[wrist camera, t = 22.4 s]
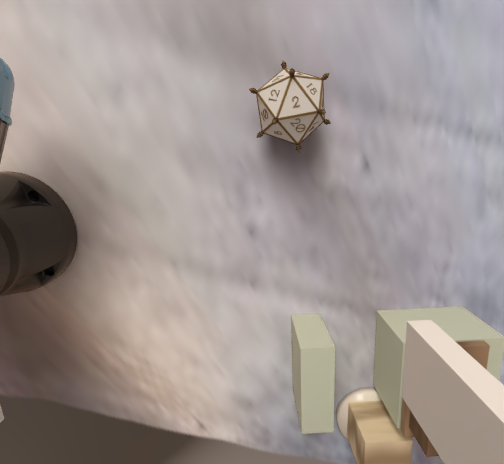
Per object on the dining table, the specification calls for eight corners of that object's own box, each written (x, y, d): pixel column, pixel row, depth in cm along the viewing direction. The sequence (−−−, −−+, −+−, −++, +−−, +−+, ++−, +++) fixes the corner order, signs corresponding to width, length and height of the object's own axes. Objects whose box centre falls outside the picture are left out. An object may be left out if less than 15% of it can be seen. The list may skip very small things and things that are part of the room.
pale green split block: (292, 388, 49) (301, 433, 41) (291, 315, 46) (300, 348, 38) (453, 380, 49) (492, 423, 41) (461, 306, 46) (505, 337, 38)
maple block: (348, 401, 48) (365, 443, 41) (389, 400, 48) (412, 440, 42) (347, 435, 50) (363, 480, 43) (386, 433, 50) (408, 478, 43)
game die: (298, 113, 43) (361, 124, 36) (252, 153, 41) (309, 174, 34) (274, 44, 37) (344, 42, 30) (219, 88, 35) (280, 97, 28)
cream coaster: (335, 438, 51) (337, 445, 50) (336, 389, 49) (338, 395, 48) (393, 435, 51) (396, 442, 50) (396, 385, 49) (400, 391, 48)
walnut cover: (400, 430, 41) (421, 467, 36) (406, 344, 38) (429, 373, 33) (472, 426, 41) (502, 463, 36) (483, 340, 38) (518, 368, 33)
